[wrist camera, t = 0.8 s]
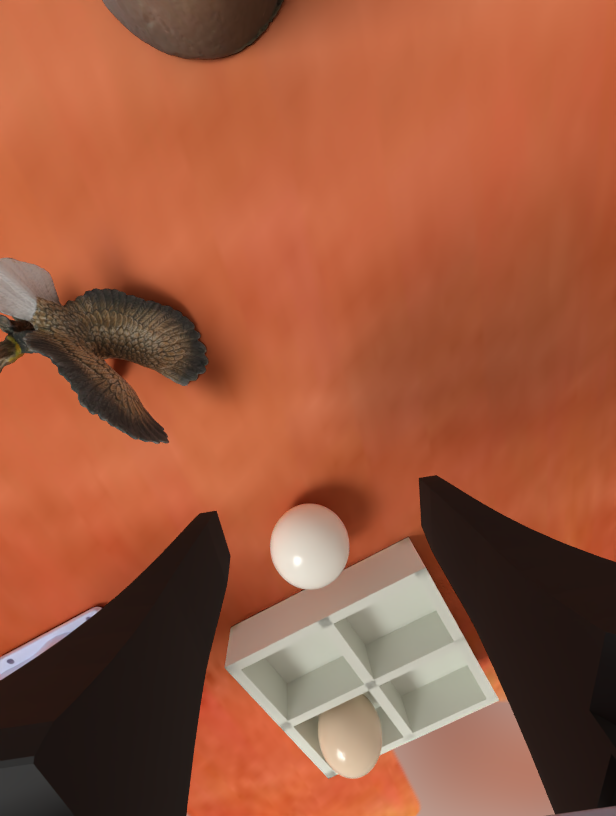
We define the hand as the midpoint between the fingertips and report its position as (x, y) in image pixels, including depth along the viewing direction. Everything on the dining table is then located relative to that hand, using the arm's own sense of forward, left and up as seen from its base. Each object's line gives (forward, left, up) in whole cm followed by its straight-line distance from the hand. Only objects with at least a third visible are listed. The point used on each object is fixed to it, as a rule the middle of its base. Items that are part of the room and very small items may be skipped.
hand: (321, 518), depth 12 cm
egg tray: (-5, -19, -10) cm, 22 cm away
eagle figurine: (-7, +9, -10) cm, 15 cm away
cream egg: (-3, -6, -10) cm, 12 cm away
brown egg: (-9, -23, -10) cm, 27 cm away
